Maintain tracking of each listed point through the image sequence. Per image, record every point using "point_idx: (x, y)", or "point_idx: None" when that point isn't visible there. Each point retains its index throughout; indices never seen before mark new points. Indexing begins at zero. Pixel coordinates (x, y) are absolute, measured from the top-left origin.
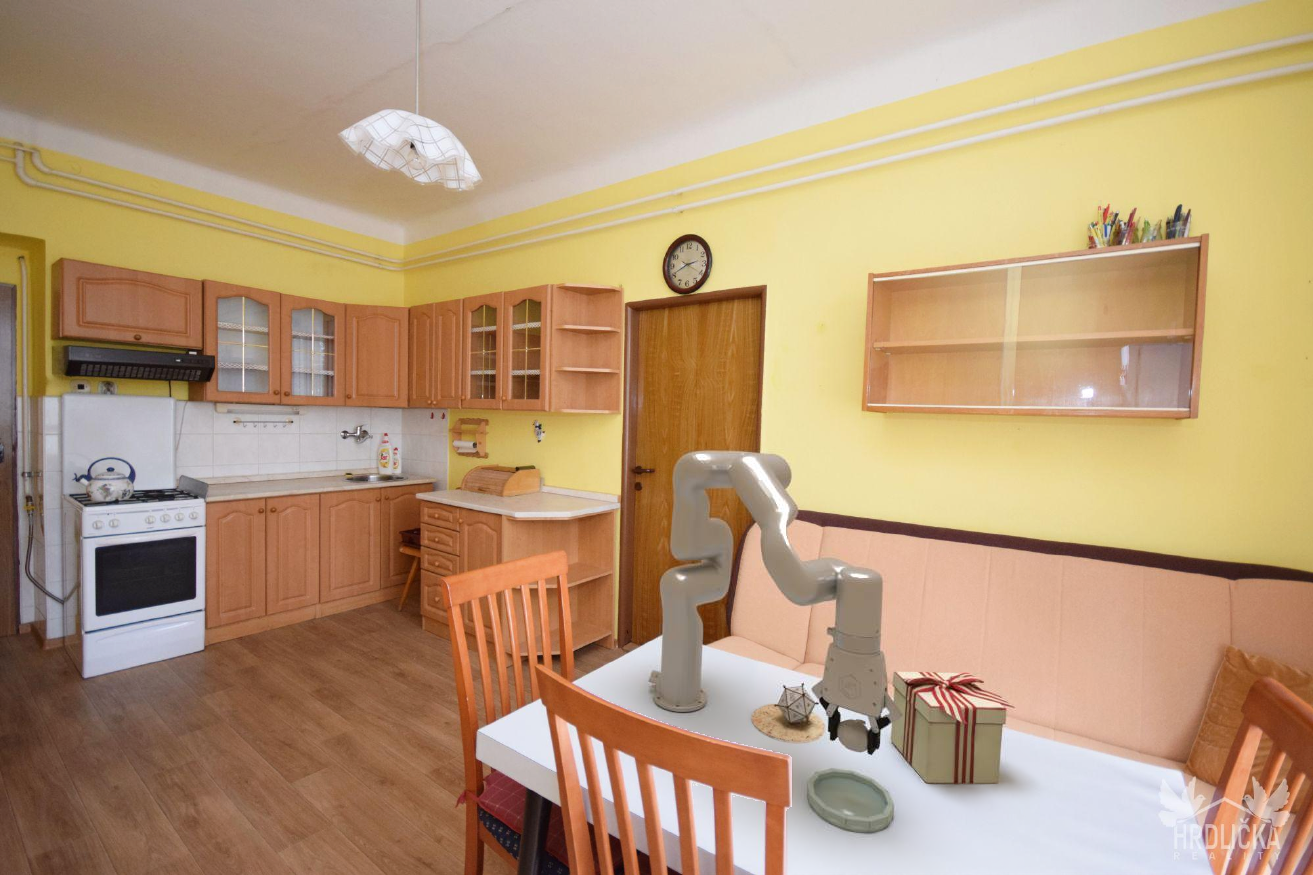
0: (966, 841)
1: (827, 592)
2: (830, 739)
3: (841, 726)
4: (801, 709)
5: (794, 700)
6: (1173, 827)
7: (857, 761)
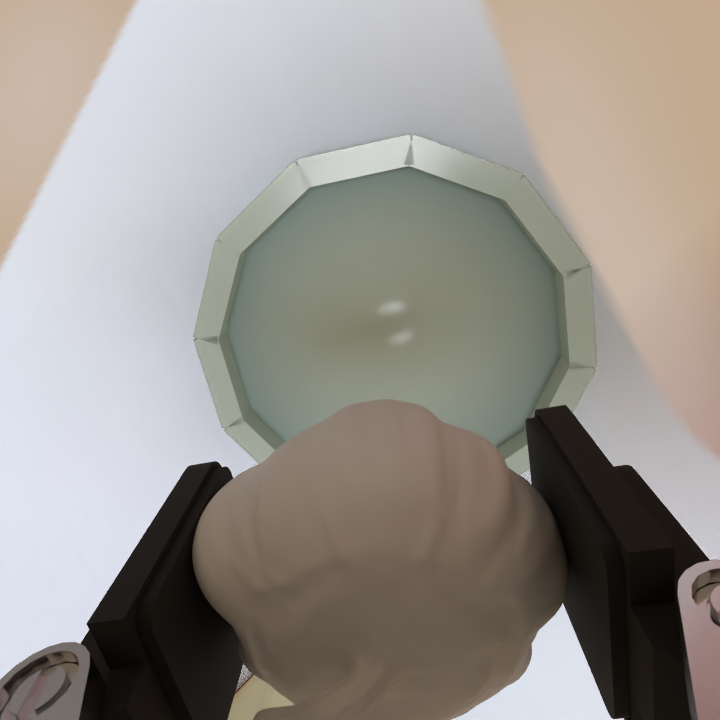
0: (23, 477)
1: None
2: (558, 406)
3: (488, 529)
4: None
5: None
6: None
7: None
